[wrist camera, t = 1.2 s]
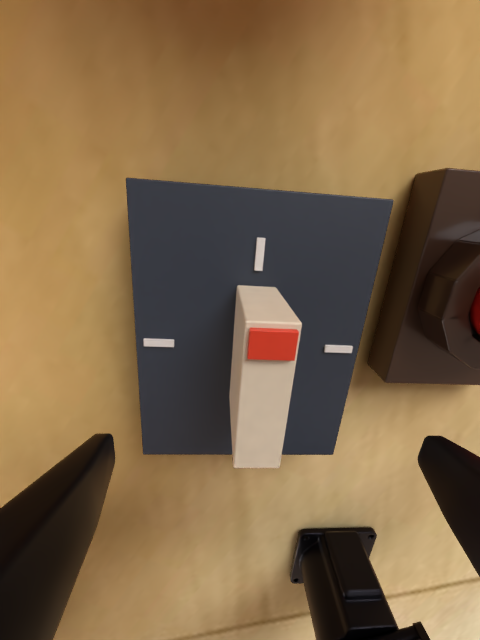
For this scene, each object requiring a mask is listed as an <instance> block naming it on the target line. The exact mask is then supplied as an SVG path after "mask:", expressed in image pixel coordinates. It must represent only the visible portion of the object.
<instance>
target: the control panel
mask: <svg viewBox="0 0 480 640" xmlns="http://www.w3.org/2000/svg"><path fill="white" fill-rule="evenodd" d="M126 189H127V205H128V221H129V236H130V252H131V268H132V284H133V300H134V316H135V332H136V348H137V364H138V380H139V395H140V411H141V427H142V443H143V454H225V455H232V437H231V418H230V399H229V394H230V380H231V365H232V350H233V335H234V321H235V306H236V291H237V286H238V285H244V286H263V287H276V288H277V290H278V291H279V292H280V294H281V295H282V297H283V298H284V299H285V301H286V302H287V303H288V305H289V306H290V308H291V309H292V310H293V312H294V313H295V315H296V316H297V317H298V319H299V320H300V321H301V323H302V328H301V334H300V341H299V347H298V354H297V360H296V366H295V373H294V379H293V385H292V392H291V398H290V404H289V411H288V417H287V423H286V430H285V436H284V443H283V449H282V455H333V452H334V448H335V444H336V440H337V436H338V431H339V427H340V423H341V419H342V415H343V411H344V406H345V402H346V398H347V394H348V390H349V385H350V381H351V377H352V373H353V369H354V364H355V360H356V356H357V352H358V348H359V344H360V339H361V335H362V331H363V327H364V323H365V318H366V314H367V310H368V306H369V302H370V298H371V293H372V289H373V285H374V281H375V277H376V272H377V268H378V264H379V260H380V256H381V251H382V247H383V243H384V239H385V235H386V231H387V226H388V222H389V218H390V214H391V210H392V205H393V200H391V199H379V198H367V197H355V196H343V195H331V194H319V193H306V192H294V191H282V190H270V189H258V188H246V187H233V186H221V185H209V184H197V183H185V182H173V181H160V180H148V179H136V178H126Z"/></svg>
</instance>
